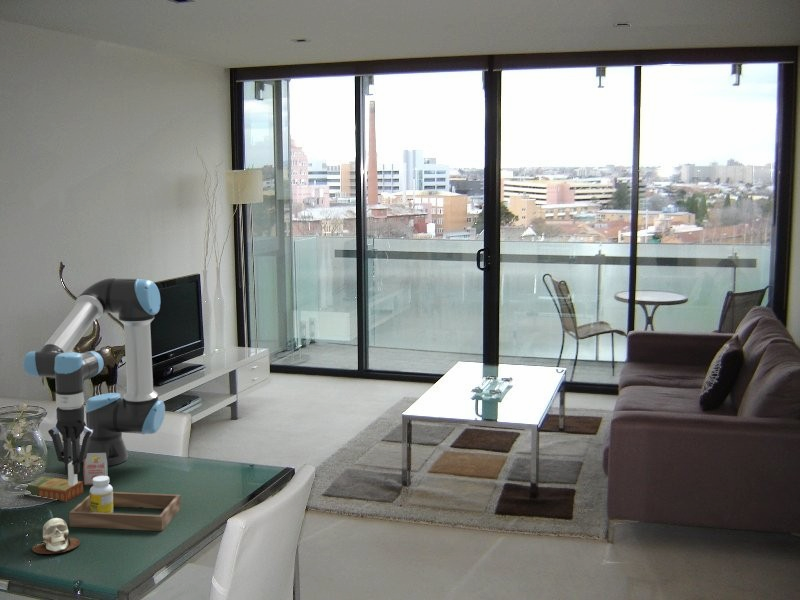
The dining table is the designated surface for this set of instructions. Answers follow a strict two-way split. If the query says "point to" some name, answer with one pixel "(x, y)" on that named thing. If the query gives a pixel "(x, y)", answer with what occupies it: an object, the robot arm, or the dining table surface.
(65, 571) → the dining table surface
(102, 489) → the pill bottle
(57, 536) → the skull
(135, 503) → the walnut frame
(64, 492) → the carton
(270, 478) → the dining table surface
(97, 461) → the white red printed box
